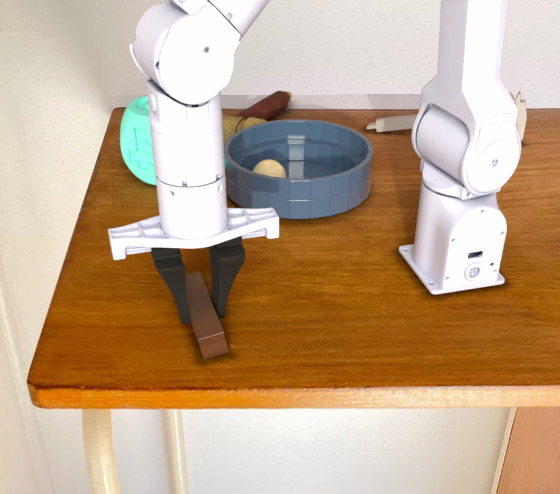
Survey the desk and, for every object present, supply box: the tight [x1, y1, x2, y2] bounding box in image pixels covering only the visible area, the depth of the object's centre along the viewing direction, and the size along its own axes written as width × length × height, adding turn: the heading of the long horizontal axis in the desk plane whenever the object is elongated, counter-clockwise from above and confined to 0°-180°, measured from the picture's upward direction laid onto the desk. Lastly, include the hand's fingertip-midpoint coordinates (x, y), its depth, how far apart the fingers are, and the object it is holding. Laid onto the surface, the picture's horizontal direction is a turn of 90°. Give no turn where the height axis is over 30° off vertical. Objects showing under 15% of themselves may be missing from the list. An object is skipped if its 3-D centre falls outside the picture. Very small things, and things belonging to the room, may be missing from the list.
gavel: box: [222, 90, 293, 144], centre depth 113 cm, size 21×5×10 cm
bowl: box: [224, 118, 375, 220], centre depth 99 cm, size 17×17×5 cm
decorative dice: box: [119, 94, 156, 186], centre depth 101 cm, size 8×8×8 cm
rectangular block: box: [186, 270, 230, 361], centre depth 79 cm, size 10×2×2 cm, turn 16°
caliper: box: [365, 90, 528, 142], centre depth 110 cm, size 20×1×6 cm, turn 77°
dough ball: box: [253, 159, 286, 178], centre depth 97 cm, size 4×4×4 cm
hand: (201, 316), depth 79 cm, fingers closed on rectangular block, 3 cm apart
